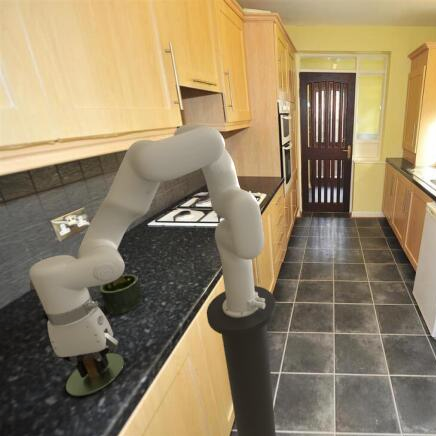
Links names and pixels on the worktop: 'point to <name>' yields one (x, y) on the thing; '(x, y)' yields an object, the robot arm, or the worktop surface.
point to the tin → (122, 294)
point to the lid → (94, 375)
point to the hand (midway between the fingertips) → (95, 370)
